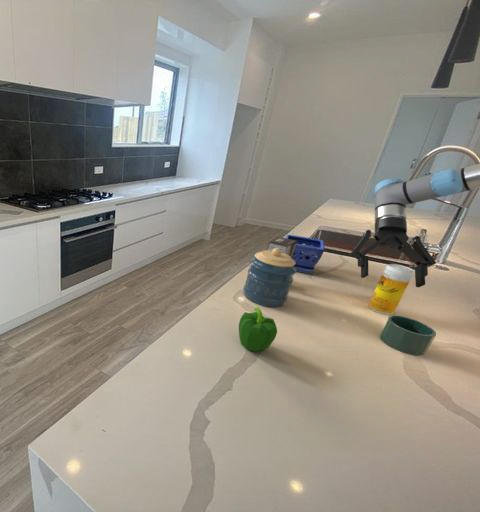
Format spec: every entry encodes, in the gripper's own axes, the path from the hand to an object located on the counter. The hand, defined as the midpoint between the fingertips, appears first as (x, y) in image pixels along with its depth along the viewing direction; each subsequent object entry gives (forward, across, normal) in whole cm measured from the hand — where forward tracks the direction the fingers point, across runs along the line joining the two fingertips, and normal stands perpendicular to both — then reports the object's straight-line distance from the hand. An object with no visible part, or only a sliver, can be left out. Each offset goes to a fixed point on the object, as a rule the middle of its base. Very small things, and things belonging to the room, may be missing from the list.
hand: (391, 281), depth 91 cm
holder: (+21, +2, +7) cm, 22 cm away
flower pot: (-10, +19, -25) cm, 33 cm away
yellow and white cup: (+8, 0, -7) cm, 10 cm away
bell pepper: (+34, +39, +20) cm, 55 cm away
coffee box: (+3, +30, -12) cm, 32 cm away
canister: (+14, +34, -1) cm, 37 cm away
